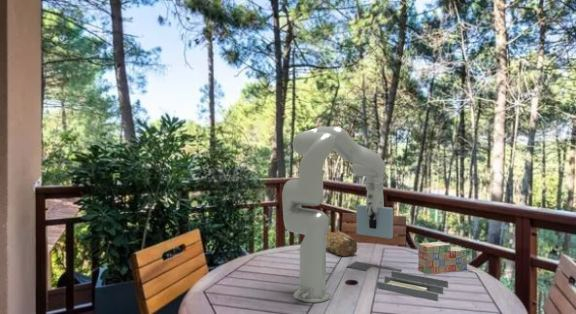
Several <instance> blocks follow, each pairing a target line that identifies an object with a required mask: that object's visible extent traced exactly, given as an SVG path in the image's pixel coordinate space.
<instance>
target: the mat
mask: <svg viewBox="0 0 576 314" xmlns="http://www.w3.org/2000/svg"><path fill="white" fill-rule="evenodd" d="M346 268H348V269H353V270H357V271H364V272H367V271H369V269H371V268H377V269H381V270H382V269H383V270H388V271H391V272H392V271H395V272H400V273H402V271H403V269H400V268H394V267H389V266H383V265H378V264H373V263H367V262H361V261H354V262H352V263H350V264H348V265H347V266H346Z"/></svg>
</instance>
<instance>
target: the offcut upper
mask: <svg viewBox="0 0 576 314" xmlns="http://www.w3.org/2000/svg"><path fill="white" fill-rule="evenodd" d="M387 284H392V285H397V286H402V287H406V288H411V289H416V290H421V291H426V292H428V291H427V288H424V287H419V286H414V285H409V284H404V283H399V282H394V281H389V282H388V283H387Z"/></svg>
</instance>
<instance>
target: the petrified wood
mask: <svg viewBox="0 0 576 314" xmlns="http://www.w3.org/2000/svg"><path fill="white" fill-rule="evenodd" d="M357 246H358V243H357V240H356V239H354V238H353V237H352V236H351V235H349V234H347V233H344V232H342V231H339V230H338V231H333V232H329V233H327V238H326V249H328V250H329V251H330V252H331V253H333V254H336V255H337V256H341V257H346V256H347V257H348V256H349V255H354V254H356V253H357V252H358V247H357Z"/></svg>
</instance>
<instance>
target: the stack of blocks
mask: <svg viewBox="0 0 576 314" xmlns="http://www.w3.org/2000/svg"><path fill="white" fill-rule="evenodd" d="M467 251H468V250H467V249H466V248H463V247H460V246H459V247H458V246H452V245H451V244H449V243H446V242H444V241H432V242H422V243H421V242H420V243H418V251H417V252H418V253H417V254H418V268H417V269H418V271H419V272H421V273H423V274H425V275H435V274H443V273H452V272H460V271H461V272H462V271H467V270H468V255H467V253H468V252H467Z"/></svg>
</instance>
